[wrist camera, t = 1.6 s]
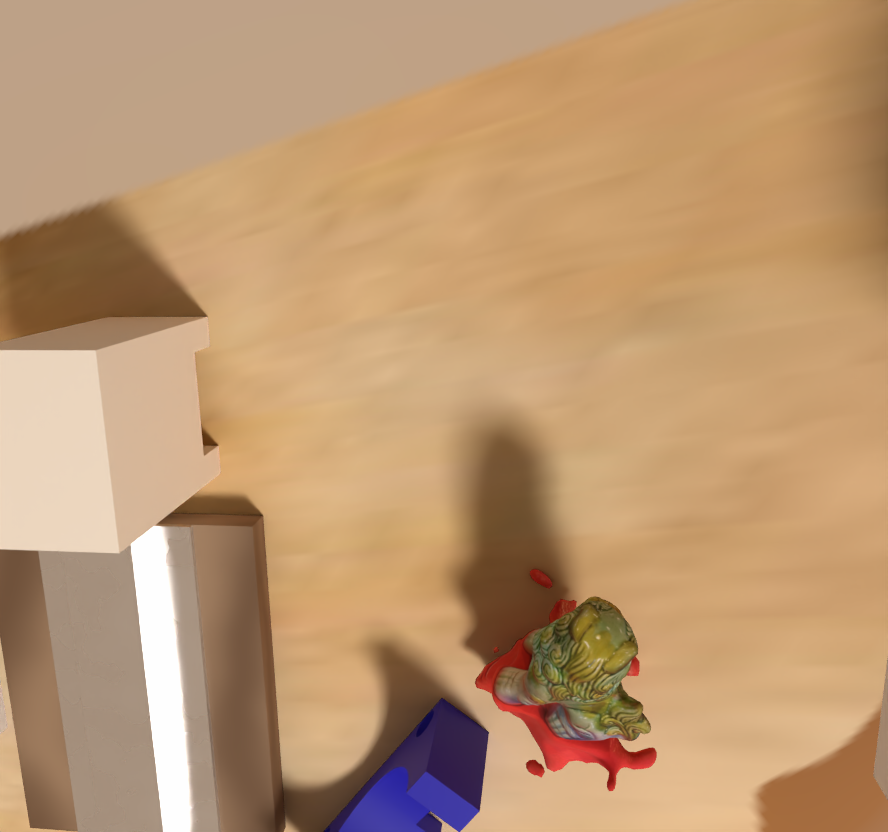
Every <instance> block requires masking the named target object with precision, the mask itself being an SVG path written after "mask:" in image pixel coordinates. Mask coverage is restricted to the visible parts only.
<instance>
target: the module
mask: <svg viewBox="0 0 888 832" xmlns="http://www.w3.org/2000/svg"><path fill="white" fill-rule="evenodd" d="M207 347H210V338H209V326H208V317H106V318H101V319H97V320H93V321H88V322H84V323H80V324H75V325H71V326H67V327H63V328H58V329H54V330H50V331H45V332H41V333H37V334H33V335H28V336H24V337H20V338H15V339H11V340H7V341H2V342H0V549H7V550H36V551H66V552H95V553H120V552H122V551H123V550H124V549H126V548H127V547H128V546H129V545H131V544H132V543H133V542H134V541H136V540H137V539H138V538H139V537H141V536H142V535H143V534H145V533H146V532H147V531H148V530H150V529H151V528H152V527H153V526H155V525H156V524H157V523H158V522H160V521H161V520H162V519H164V518H165V517H166V516H167V515H169V514H170V513H171V512H172V511H174V510H175V509H176V508H177V507H179V506H180V505H181V504H183V503H184V502H185V501H186V500H188V499H189V498H190V497H191V496H193V495H194V494H195V493H196V492H198V491H199V490H200V489H201V488H203V487H204V486H205V485H207V484H208V483H209V482H210V481H212V480H213V479H214V478H215V477H217V476H218V475H219V474H220V473H221V469H220V457H219V446H203V442H202V430H201V419H200V408H199V397H198V385H197V374H196V363H195V352H197V351H199V350H202V349H204V348H207Z"/></svg>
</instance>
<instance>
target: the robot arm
mask: <svg viewBox="0 0 888 832" xmlns="http://www.w3.org/2000/svg"><path fill="white" fill-rule="evenodd" d="M7 727H8V726H7V720H6V713H5V707H4V701H3V694H2V688H1V682H0V734H1V733H2V732H3V731H4V730H5V729H6V728H7ZM874 778H875V779H876V781H877V783H878V785H879V786H880V788H881V790H882V791H883V793H884V795H885V796H886V798H887V800H888V660H887V668H886V676H885V684H884V693H883V701H882V709H881V717H880V726H879V734H878V742H877V751H876V759H875V767H874Z"/></svg>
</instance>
